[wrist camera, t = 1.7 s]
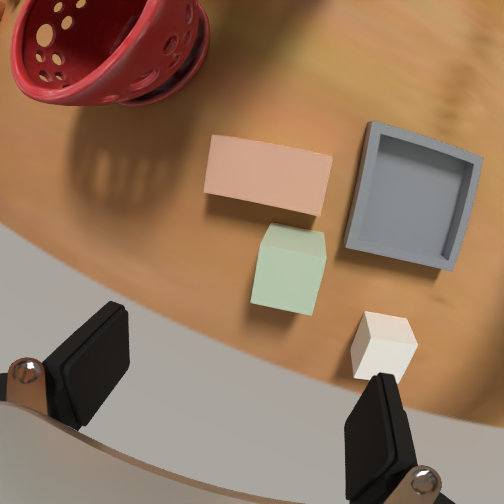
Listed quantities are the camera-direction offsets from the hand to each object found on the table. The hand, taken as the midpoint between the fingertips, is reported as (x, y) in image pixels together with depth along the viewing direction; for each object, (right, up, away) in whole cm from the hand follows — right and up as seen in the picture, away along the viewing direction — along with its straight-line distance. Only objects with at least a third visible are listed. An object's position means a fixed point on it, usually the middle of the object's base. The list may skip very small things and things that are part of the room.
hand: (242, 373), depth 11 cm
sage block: (+4, +4, +16) cm, 17 cm away
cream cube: (+13, -4, +18) cm, 22 cm away
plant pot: (-8, +23, +12) cm, 27 cm away
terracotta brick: (+2, +11, +15) cm, 18 cm away
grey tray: (+14, +9, +13) cm, 21 cm away
